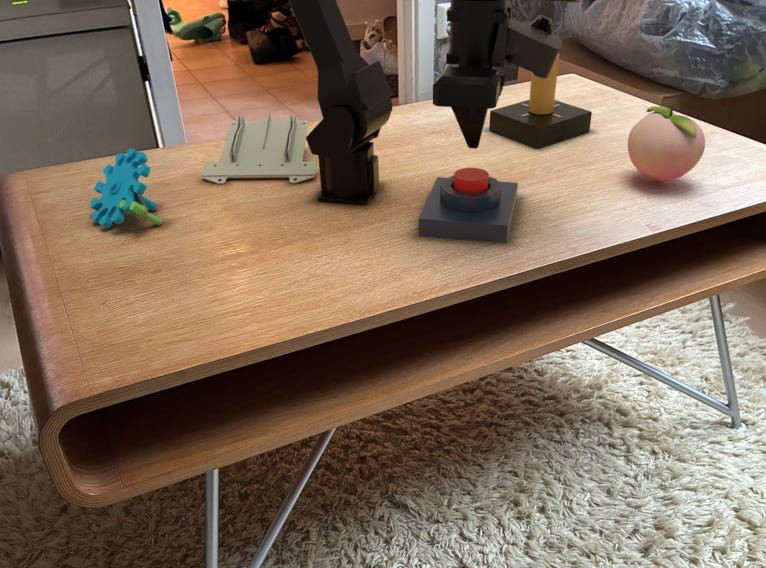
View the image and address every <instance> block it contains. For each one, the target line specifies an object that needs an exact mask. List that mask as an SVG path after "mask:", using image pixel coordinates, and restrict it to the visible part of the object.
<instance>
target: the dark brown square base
mask: <svg viewBox="0 0 766 568" xmlns="http://www.w3.org/2000/svg"><path fill="white" fill-rule="evenodd" d="M592 115H593V111H591V110H588V109H585V108H581V107H579V106H576V105H573V104H569V103H567V102H563V101H559V100H556V99H555V100H554V110H553V112H552V113H550V114H545V115H539V114H534V113H531V112H529V99H527V100H523V101H520V102H517V103H512V104H509V105H506V106H502V107H498V108H494V109H492V110H491V109H490V111H489V124H488V125H489V127H488V131H489V132H492V133H494V134H496V135H497V134H498V135H500V136H502V137H505V138H508V139H510V140H513V141H516V142H517V143H521V144H524V145H525V146H529V147H531V148H534V149H537V150H539V149H542V148H544V147H548V146H550V145H554V144H557V143H559V142H563V141H565V140H569V139H572V138H575V137H578V136H581V135H584V134H586V133H590V129H591V124H592V123H591V122H592Z"/></svg>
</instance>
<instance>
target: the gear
mask: <svg viewBox="0 0 766 568" xmlns="http://www.w3.org/2000/svg"><path fill="white" fill-rule="evenodd" d="M114 161H115V163H114V166H113V165H111V164H109V163H108V164H107V165H106V166H105V167H104V168H103V170H102V174H104V175H105V182H103V181H101V180H97V182H96V183H95V185H94V187H93V191H95V192H97V193H98V194H101V196H100V198H99V199H98V198H96V197H93V198H91V201H90V204H89V208H90V209H92V210H94V211H93V212H92V215H91V219H92V222H94V223H96V224H99V225H101V226H102V227H105V228H106V229H110V227H111V226H112V224H113V223H114V224H115V225H120V224H122V223H123V222H124V220H125V212H126V213H129V214H132V213H133V217H134V218H136V219H138V220H140V221H142V220H145V219H146V220H147V221H149V222H151V223H154V224H155V225H158V226H160V225H162V223H163V220H162V219H161V218H159V217H157V216H155V215H153V213H150V212H149V211H155V209H156V208H157V203H156V202H154V201H152V200H150V199H149V198H147V197H145V196H143V195H144V193H145V192H146V190H147V188H148V186H147V184H145V183H143V182H142V181H139V179H140V177H141V176H142V177H143V178H148V177H149V175H150V173H151V167H150V166H149V165H147V164H146V163H147V162H148V155H147V154H146V153H145V152H143V151H141V150H139V151H137V150H136V149H134V148H132V147H129V149H128V150H127V152H126V154H125V153H124V152H119V153H117V154H116V155H115V158H114Z"/></svg>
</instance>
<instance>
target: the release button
mask: <svg viewBox="0 0 766 568" xmlns="http://www.w3.org/2000/svg"><path fill="white" fill-rule="evenodd" d="M453 175H454V190H455V191H458V192H461V193H472V194H475V193H481V192H485V191H487V190H488V183H489V177H490V173H489V172H488V171H487V170H485V169H483V168H478V167H463V168H459V169H457V170H455V171H454V172H453Z"/></svg>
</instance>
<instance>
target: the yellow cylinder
mask: <svg viewBox="0 0 766 568" xmlns="http://www.w3.org/2000/svg"><path fill="white" fill-rule="evenodd" d="M559 60H560V52H559V53H558V55H557V57H556V60H555V62H554V64H553V66H552V68H551V71H550V73H549V75H548V77H547V78H540V77H537V76H535V75H534V74H533V72H531V76H530V87H529V88H530V89H529V99H528V100H529V112H531V113H534V114H539V115H545V114H550V113H552V112H553V110H554V100H556V99H555V98H556V88H557V81H558V79H557V78H558V70H559Z"/></svg>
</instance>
